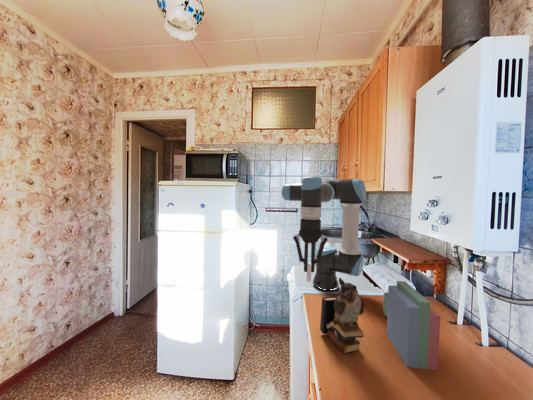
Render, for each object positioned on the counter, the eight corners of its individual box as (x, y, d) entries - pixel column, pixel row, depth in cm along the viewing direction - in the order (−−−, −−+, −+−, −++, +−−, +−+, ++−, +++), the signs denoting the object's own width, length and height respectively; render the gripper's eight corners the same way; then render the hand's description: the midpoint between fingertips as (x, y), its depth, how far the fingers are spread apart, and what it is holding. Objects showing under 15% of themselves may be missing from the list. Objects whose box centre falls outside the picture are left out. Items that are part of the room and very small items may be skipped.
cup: (406, 321, 93) (407, 298, 93) (394, 324, 91) (395, 301, 90) (391, 311, 101) (392, 291, 100) (378, 314, 98) (379, 293, 98)
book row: (386, 334, 84) (388, 280, 83) (411, 337, 83) (413, 282, 82) (406, 367, 68) (409, 300, 67) (437, 371, 67) (441, 303, 66)
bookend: (319, 331, 85) (321, 270, 84) (342, 328, 88) (344, 268, 87) (340, 360, 71) (342, 286, 70) (367, 354, 73) (370, 284, 72)
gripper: (292, 218, 76) (291, 282, 77) (330, 220, 74) (327, 286, 75) (293, 216, 84) (291, 275, 85) (327, 217, 82) (325, 277, 83)
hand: (308, 280), depth 80 cm, fingers closed
